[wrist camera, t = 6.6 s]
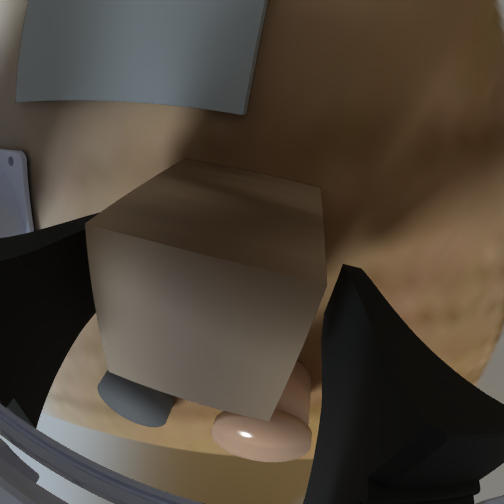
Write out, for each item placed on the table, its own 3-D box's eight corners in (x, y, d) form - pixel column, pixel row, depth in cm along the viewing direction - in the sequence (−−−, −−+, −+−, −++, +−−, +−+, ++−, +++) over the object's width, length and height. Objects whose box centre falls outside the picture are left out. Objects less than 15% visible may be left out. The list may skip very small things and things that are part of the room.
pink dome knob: (225, 392, 17) (208, 449, 14) (236, 341, 15) (215, 407, 12) (301, 409, 17) (294, 467, 14) (327, 361, 15) (325, 429, 11)
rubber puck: (114, 392, 21) (104, 410, 19) (104, 350, 18) (91, 370, 17) (175, 415, 20) (167, 434, 19) (175, 376, 18) (164, 399, 16)
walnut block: (175, 270, 14) (108, 371, 8) (185, 158, 11) (84, 223, 6) (288, 299, 13) (269, 421, 8) (320, 187, 11) (327, 284, 6)
